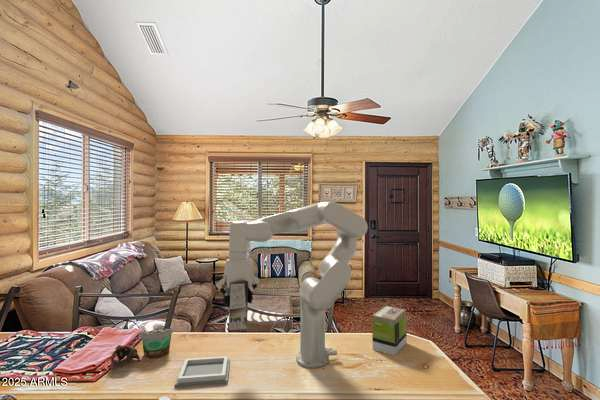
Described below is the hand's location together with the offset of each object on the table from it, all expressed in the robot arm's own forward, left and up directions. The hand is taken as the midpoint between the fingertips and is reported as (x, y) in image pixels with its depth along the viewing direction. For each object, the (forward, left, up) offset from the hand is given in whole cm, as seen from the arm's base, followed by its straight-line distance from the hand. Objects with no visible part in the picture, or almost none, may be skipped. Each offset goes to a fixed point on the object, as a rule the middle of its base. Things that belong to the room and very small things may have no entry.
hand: (238, 303), depth 116 cm
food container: (+32, -16, -25) cm, 43 cm away
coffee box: (0, 0, -8) cm, 8 cm away
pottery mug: (+42, -11, -25) cm, 50 cm away
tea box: (-63, -11, -25) cm, 69 cm away
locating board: (+12, 0, -24) cm, 27 cm away
